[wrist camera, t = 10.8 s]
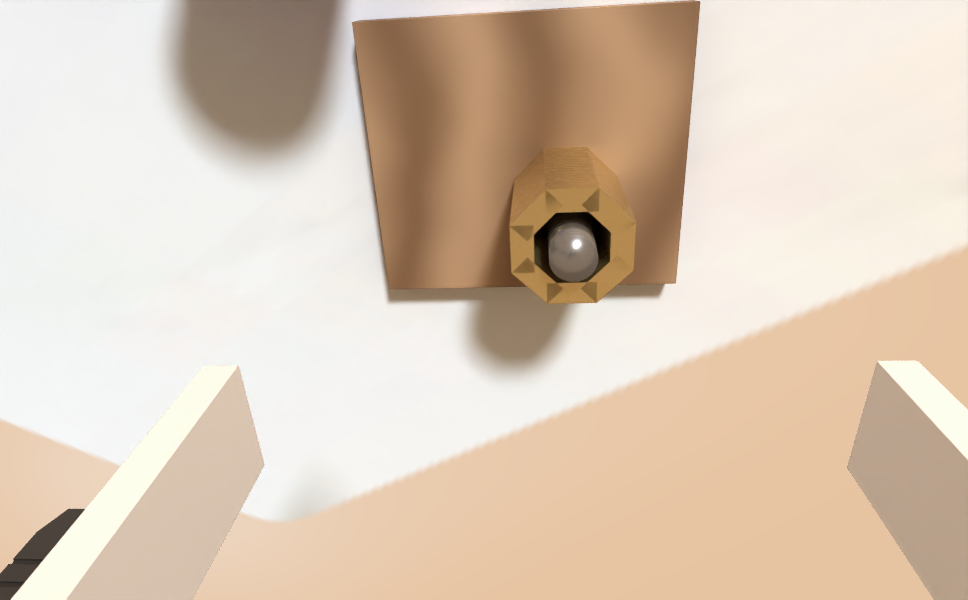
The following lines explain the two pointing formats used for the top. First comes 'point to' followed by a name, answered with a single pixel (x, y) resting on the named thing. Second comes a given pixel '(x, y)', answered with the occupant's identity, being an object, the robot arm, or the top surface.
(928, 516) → the robot arm
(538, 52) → the board
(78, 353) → the top surface
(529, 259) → the bushing
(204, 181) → the top surface
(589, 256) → the post
